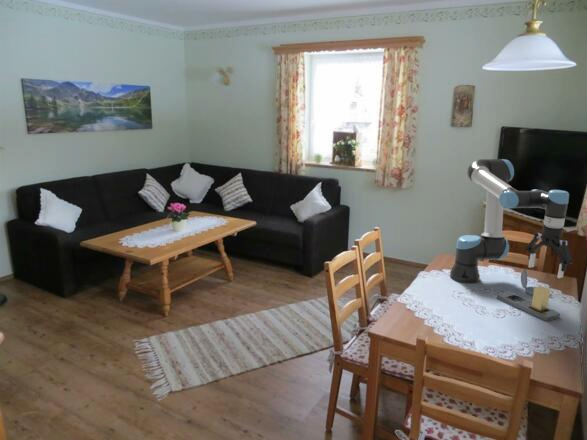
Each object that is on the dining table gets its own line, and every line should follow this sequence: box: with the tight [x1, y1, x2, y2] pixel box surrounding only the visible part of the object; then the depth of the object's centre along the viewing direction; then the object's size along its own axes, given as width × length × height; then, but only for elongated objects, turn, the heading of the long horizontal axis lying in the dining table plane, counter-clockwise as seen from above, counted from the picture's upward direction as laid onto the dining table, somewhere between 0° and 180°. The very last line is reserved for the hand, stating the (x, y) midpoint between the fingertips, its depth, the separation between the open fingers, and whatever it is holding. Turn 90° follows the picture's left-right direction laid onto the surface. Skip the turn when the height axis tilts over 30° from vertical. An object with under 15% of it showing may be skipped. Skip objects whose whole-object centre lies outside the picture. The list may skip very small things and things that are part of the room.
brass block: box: [531, 285, 551, 313], centre depth 193 cm, size 4×4×12 cm
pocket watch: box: [520, 268, 554, 297], centre depth 214 cm, size 10×11×15 cm
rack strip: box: [495, 291, 561, 322], centre depth 199 cm, size 26×9×2 cm, turn 26°
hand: (545, 272), depth 189 cm, fingers open, 13 cm apart
